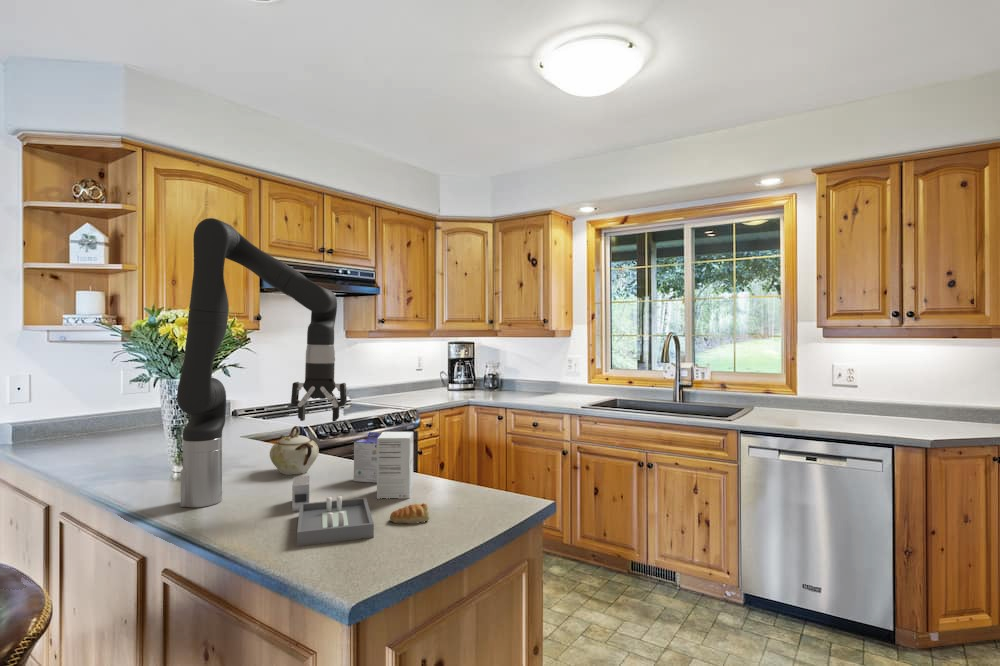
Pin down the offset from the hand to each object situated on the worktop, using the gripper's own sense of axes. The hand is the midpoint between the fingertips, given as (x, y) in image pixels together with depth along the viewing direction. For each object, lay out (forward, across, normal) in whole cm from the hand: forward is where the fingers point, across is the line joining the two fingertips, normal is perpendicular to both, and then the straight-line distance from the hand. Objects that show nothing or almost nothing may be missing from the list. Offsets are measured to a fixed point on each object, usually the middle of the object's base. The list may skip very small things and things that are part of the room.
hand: (318, 420), depth 147 cm
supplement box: (+21, +21, +4) cm, 30 cm away
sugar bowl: (+22, -15, +30) cm, 40 cm away
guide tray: (+21, +9, -21) cm, 31 cm away
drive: (+22, -3, -4) cm, 22 cm away
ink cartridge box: (+22, +12, +18) cm, 31 cm away
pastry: (+21, +27, -18) cm, 39 cm away
